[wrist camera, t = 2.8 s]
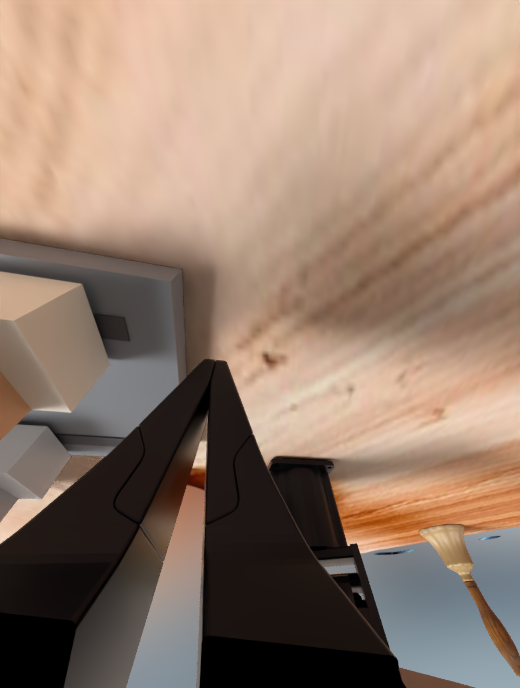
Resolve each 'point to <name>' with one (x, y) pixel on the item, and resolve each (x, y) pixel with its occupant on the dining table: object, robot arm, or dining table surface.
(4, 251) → the console panel
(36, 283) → the cream slider
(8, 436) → the grey slider
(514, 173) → the dining table surface
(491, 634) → the hand bell
